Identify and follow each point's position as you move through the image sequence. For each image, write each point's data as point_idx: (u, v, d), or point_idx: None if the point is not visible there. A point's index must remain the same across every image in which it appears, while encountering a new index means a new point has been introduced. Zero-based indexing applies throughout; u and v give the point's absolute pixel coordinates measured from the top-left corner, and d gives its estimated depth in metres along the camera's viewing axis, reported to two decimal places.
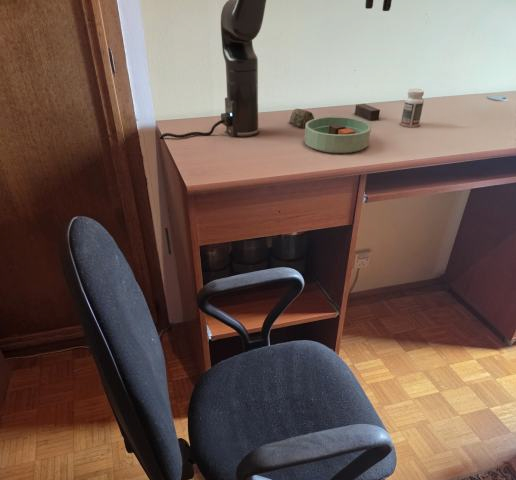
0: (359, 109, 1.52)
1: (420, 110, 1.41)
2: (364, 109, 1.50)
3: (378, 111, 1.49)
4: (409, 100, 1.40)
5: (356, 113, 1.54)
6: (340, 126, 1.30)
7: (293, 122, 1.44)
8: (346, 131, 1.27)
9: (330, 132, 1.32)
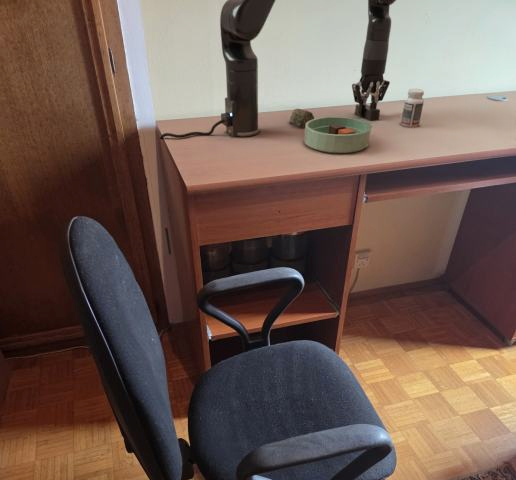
0: None
1: (420, 110, 1.41)
2: None
3: (378, 111, 1.49)
4: (409, 100, 1.40)
5: (356, 113, 1.54)
6: (340, 126, 1.30)
7: (293, 122, 1.44)
8: (346, 131, 1.27)
9: (330, 132, 1.32)
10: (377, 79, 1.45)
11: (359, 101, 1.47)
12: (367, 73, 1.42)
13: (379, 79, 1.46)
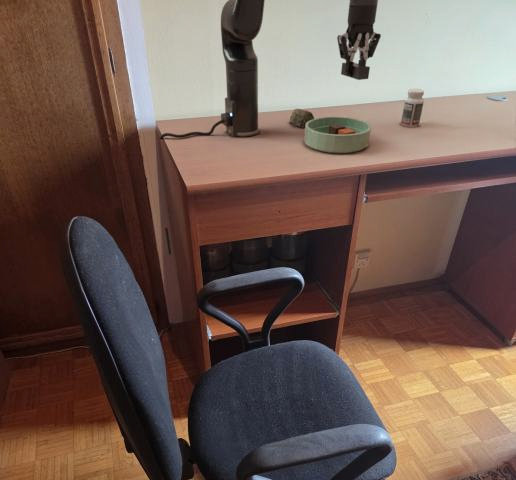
0: None
1: (420, 110, 1.41)
2: None
3: (368, 69, 1.29)
4: (409, 100, 1.40)
5: (343, 73, 1.35)
6: (340, 126, 1.30)
7: (293, 122, 1.44)
8: (346, 131, 1.27)
9: (330, 132, 1.32)
10: (366, 30, 1.25)
11: (346, 56, 1.27)
12: (354, 22, 1.22)
13: (368, 30, 1.26)
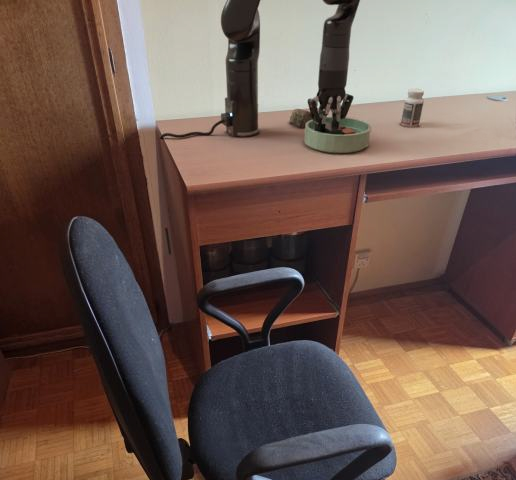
0: None
1: (420, 110, 1.41)
2: None
3: (340, 131, 1.24)
4: (409, 100, 1.40)
5: None
6: (340, 126, 1.30)
7: (293, 122, 1.44)
8: (346, 131, 1.27)
9: None
10: (338, 93, 1.21)
11: (317, 119, 1.23)
12: (324, 86, 1.18)
13: (340, 93, 1.21)
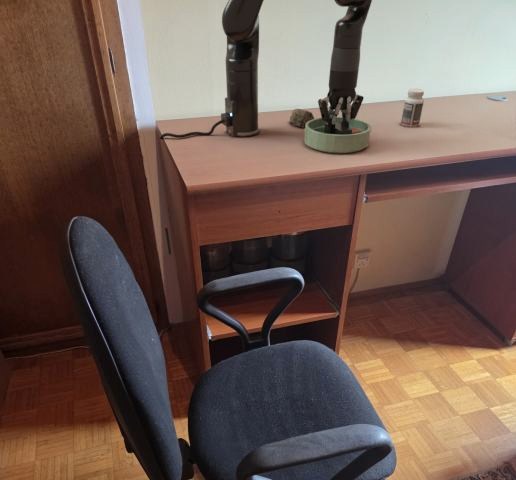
0: None
1: (420, 110, 1.41)
2: None
3: (350, 131, 1.26)
4: (409, 100, 1.40)
5: None
6: None
7: (293, 122, 1.44)
8: (353, 131, 1.27)
9: None
10: (348, 94, 1.22)
11: (327, 120, 1.24)
12: (335, 87, 1.19)
13: (350, 94, 1.23)
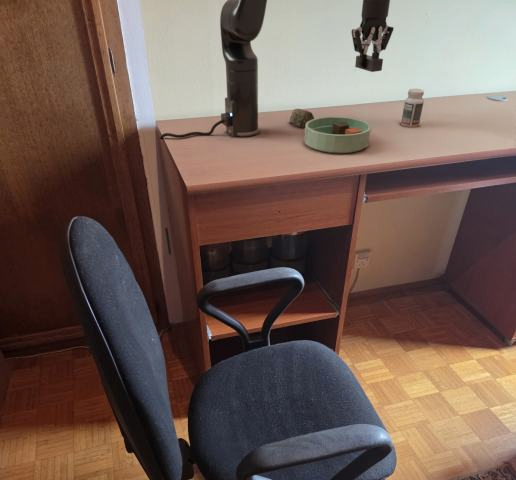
0: None
1: (420, 110, 1.41)
2: None
3: (381, 61, 1.34)
4: (409, 100, 1.40)
5: (357, 65, 1.40)
6: (344, 124, 1.32)
7: (293, 122, 1.44)
8: (353, 131, 1.27)
9: (334, 130, 1.33)
10: (379, 24, 1.31)
11: (359, 49, 1.33)
12: (368, 16, 1.27)
13: (382, 24, 1.31)
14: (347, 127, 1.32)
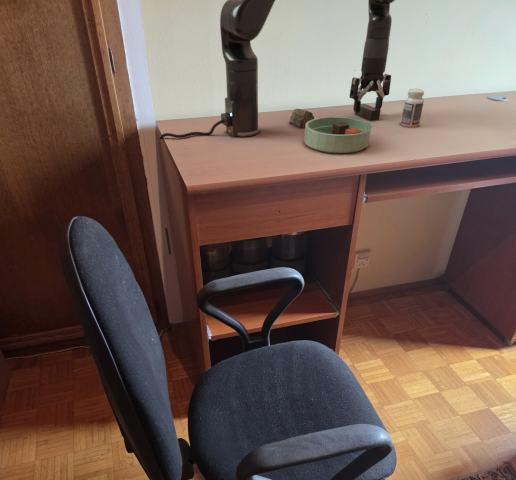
0: None
1: (420, 110, 1.41)
2: (364, 109, 1.50)
3: (378, 111, 1.49)
4: (409, 100, 1.40)
5: (356, 113, 1.54)
6: (344, 124, 1.32)
7: (293, 122, 1.44)
8: (353, 131, 1.27)
9: (334, 130, 1.33)
10: (377, 78, 1.45)
11: (354, 97, 1.45)
12: (367, 71, 1.42)
13: (379, 78, 1.45)
14: (347, 127, 1.32)
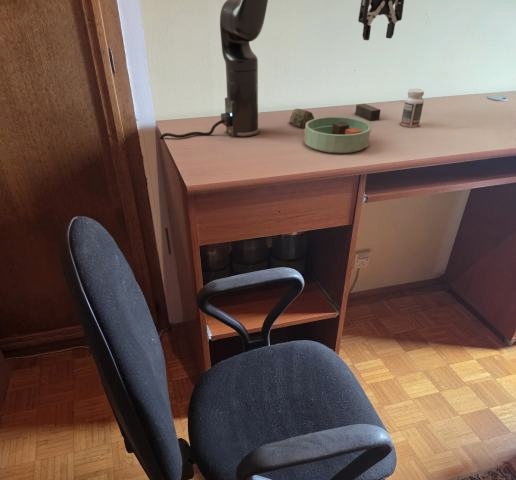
0: (359, 109, 1.52)
1: (420, 110, 1.41)
2: (364, 109, 1.50)
3: (378, 111, 1.49)
4: (409, 100, 1.40)
5: (356, 113, 1.54)
6: (344, 124, 1.32)
7: (293, 122, 1.44)
8: (353, 131, 1.27)
9: (334, 130, 1.33)
10: None
11: (363, 20, 1.32)
12: None
13: None
14: (347, 127, 1.32)
